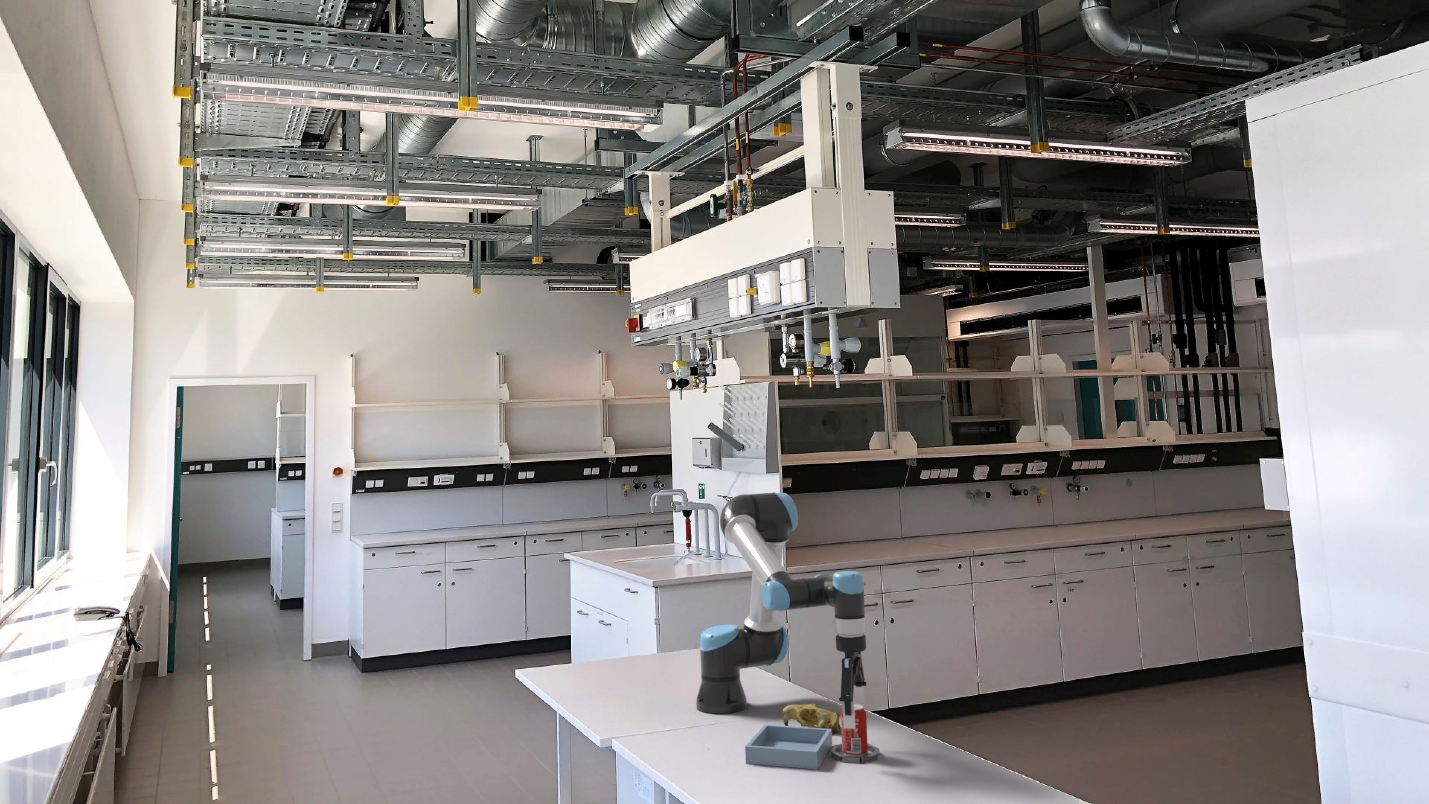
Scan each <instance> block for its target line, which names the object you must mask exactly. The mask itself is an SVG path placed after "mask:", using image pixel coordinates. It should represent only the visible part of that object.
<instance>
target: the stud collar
mask: <svg viewBox="0 0 1429 804" xmlns="http://www.w3.org/2000/svg"><path fill="white" fill-rule="evenodd" d="M832 746H833V747H831V749H830V757H831V758H834V759H835V760H836V761H839V762H842V763H851V764H865V763H868V762H870V763H871V762H874V761H877V760H878V759H879V756H880V748H879V747H878V746H875V745H872V744H871V743H868V752H871V753H872V754H867V755H866V754H865V756H862V757H854V756H846V755H843V754H842V753H839V752H838V751H842V743H839V744H838V743H837V744H834V745H832Z"/></svg>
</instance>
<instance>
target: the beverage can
mask: <svg viewBox="0 0 1429 804" xmlns="http://www.w3.org/2000/svg"><path fill="white" fill-rule="evenodd" d="M854 709H855V729H850V728H844V722H843V709H841V711H840V721H841V722H840V726H841V728H840V730H841V744H842V750H841V751H842V753H843V754H844V756H854V757H862V756H866V754H867V753H868V752H869V750H868V744H869V743H868V726H867V725H868V722H867V721H868V720H867V711H866V710H864V709H865V707H864V708H863V706H862V705H860V704H854Z"/></svg>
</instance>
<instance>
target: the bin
mask: <svg viewBox="0 0 1429 804" xmlns="http://www.w3.org/2000/svg"><path fill="white" fill-rule="evenodd" d="M832 746H833V732H832V729H823V728H809V727H807V726H806V727H804V726H792V725H791V726H790V725H788V726H785V725H778V724H777V725H776V724H763V725H762V727H761V728H760V729H759V730H758V731H757V732H756V733H755V735H754V736H753V737H752V738H751V739H750V740H749V742H748V743H747V744H746V745H745V746H744V749H745V750H744V753H745V755H744V756H745V764H751V765H759V766H760V765H761V766H774V767H785V768H787V767H788V768H797V769H798V768H799V769H811V770H818V769H819V768H820V766H821V765H822V763H823V761H824V759H825V758H826V756H827V754H828V753H829V751H831V749H832Z"/></svg>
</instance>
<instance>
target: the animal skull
mask: <svg viewBox="0 0 1429 804" xmlns="http://www.w3.org/2000/svg"><path fill="white" fill-rule="evenodd" d="M817 705H818V704H817V703H808V704H807V703H805V704H788V705H787V706H785V707H784V708H783V709H782V713H783V714H784V716H783V724H784V726H789V720H791V719H792V720H794V721H796V722H797V723H798V724H800V727H809V728H823V729H832V735H834V734H835V733H836V732H839V731H840V730H841V722H840V721H841V713H840V712H835V711H830V710H828V709H824V708H819V707H817Z"/></svg>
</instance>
